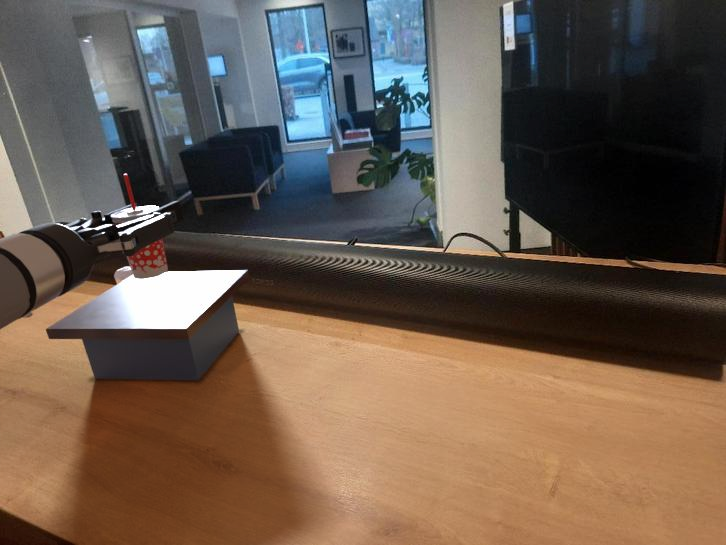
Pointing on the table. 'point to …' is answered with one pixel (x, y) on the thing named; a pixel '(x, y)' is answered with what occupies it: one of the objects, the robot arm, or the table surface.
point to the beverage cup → (150, 257)
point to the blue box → (164, 352)
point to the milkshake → (122, 274)
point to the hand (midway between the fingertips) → (157, 211)
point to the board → (152, 307)
